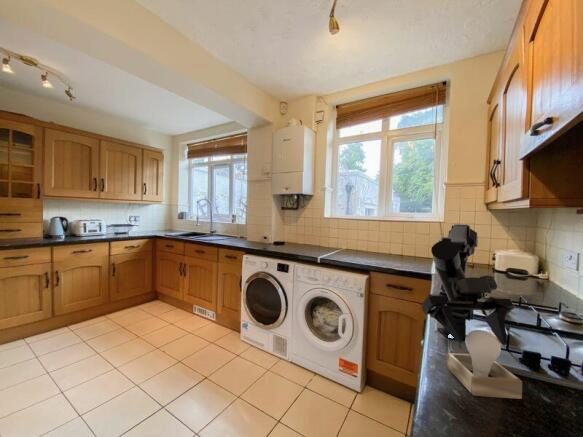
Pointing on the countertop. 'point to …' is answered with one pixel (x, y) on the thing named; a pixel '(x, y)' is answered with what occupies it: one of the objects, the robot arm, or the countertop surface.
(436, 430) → the countertop surface
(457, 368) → the tray
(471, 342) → the lightbulb
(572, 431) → the countertop surface
